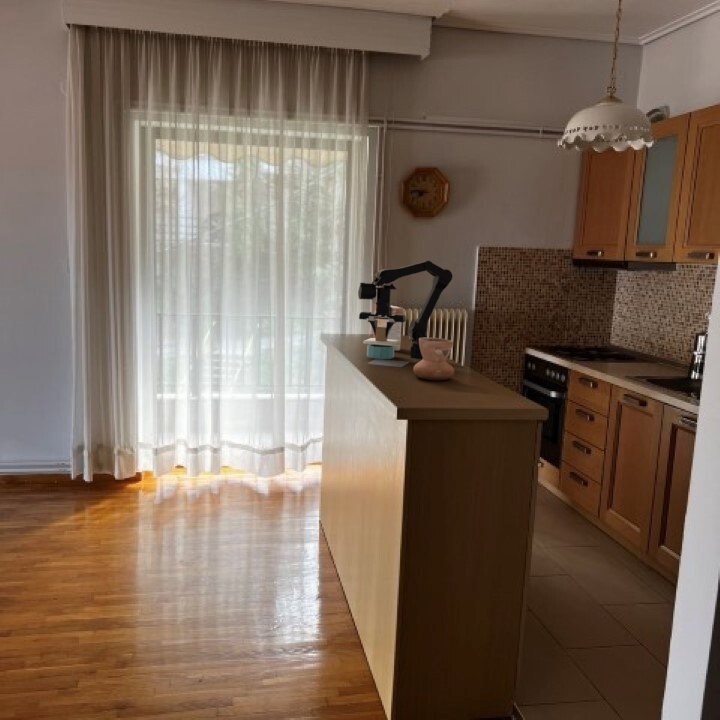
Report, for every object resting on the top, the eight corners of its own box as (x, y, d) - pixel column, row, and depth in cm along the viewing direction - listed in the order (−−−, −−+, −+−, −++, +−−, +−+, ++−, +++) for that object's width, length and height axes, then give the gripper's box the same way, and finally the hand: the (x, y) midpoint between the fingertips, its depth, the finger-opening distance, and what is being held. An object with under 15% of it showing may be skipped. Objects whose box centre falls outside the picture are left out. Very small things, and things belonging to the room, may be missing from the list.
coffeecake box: (372, 346, 330) (374, 304, 327) (385, 345, 333) (387, 304, 330) (386, 350, 317) (389, 307, 314) (400, 350, 320) (403, 307, 317)
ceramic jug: (457, 384, 243) (460, 343, 241) (415, 381, 243) (418, 340, 241) (448, 375, 261) (451, 337, 259) (409, 373, 260) (412, 335, 259)
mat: (409, 362, 285) (409, 362, 285) (401, 367, 271) (401, 366, 271) (375, 359, 288) (376, 358, 288) (366, 364, 275) (366, 363, 275)
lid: (398, 342, 298) (399, 327, 297) (391, 345, 287) (392, 329, 286) (371, 340, 301) (371, 325, 300) (363, 343, 290) (364, 327, 289)
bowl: (396, 357, 299) (396, 345, 298) (389, 360, 288) (390, 348, 288) (371, 354, 302) (371, 343, 301) (363, 358, 291) (364, 346, 290)
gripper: (409, 300, 297) (407, 337, 299) (366, 297, 302) (365, 334, 304) (403, 302, 286) (401, 340, 288) (359, 299, 291) (357, 336, 293)
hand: (381, 337), depth 294 cm, fingers closed on lid, 4 cm apart
